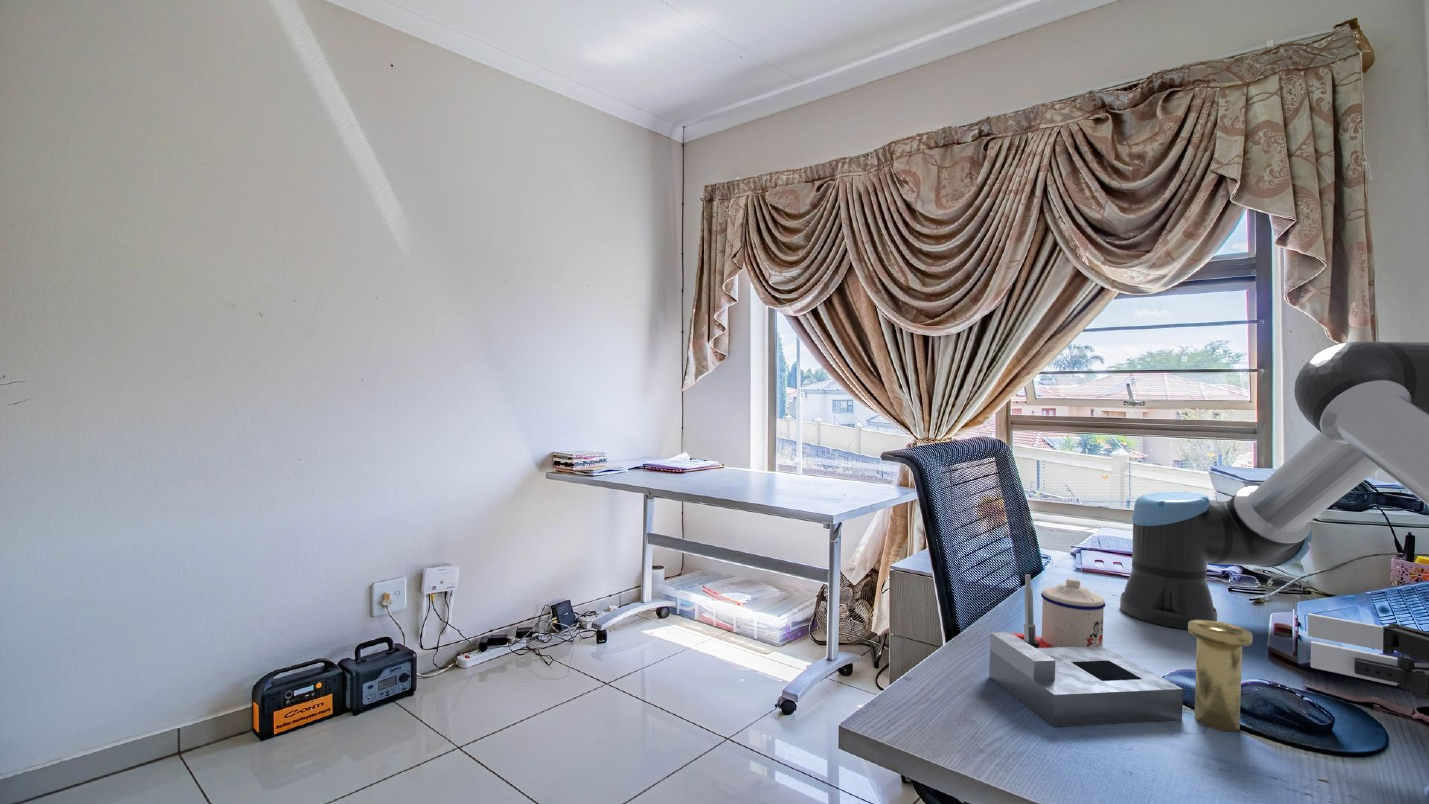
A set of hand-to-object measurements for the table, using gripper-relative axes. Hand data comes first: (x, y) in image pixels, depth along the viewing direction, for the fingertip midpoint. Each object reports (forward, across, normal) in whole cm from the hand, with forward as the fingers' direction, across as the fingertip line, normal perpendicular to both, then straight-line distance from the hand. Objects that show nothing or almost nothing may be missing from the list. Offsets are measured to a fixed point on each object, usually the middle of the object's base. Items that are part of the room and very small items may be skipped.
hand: (1308, 638), depth 75 cm
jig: (+23, -4, -13) cm, 27 cm away
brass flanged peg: (+8, 0, -13) cm, 15 cm away
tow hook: (+34, +8, -13) cm, 37 cm away
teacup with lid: (+28, +14, -13) cm, 34 cm away
